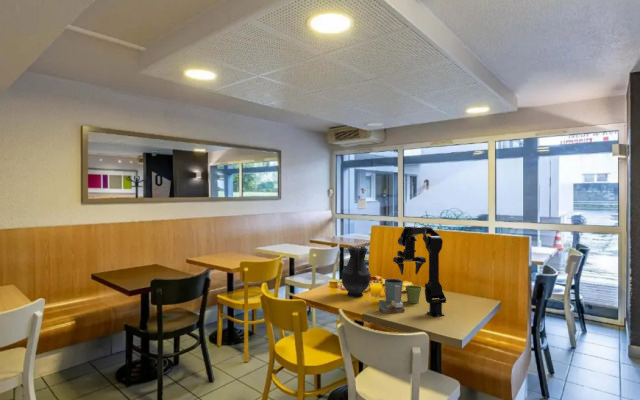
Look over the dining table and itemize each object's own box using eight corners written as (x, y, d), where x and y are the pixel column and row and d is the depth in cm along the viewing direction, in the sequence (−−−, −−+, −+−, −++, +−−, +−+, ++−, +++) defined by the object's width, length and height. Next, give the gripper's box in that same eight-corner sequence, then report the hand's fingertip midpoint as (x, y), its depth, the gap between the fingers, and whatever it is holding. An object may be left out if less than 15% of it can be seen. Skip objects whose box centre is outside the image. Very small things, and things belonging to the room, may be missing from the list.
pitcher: (369, 292, 228) (370, 244, 228) (370, 301, 207) (372, 248, 207) (341, 291, 230) (342, 243, 230) (340, 299, 209) (341, 247, 209)
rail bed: (400, 309, 194) (400, 297, 194) (404, 312, 189) (404, 300, 189) (379, 310, 191) (379, 298, 191) (383, 313, 186) (383, 301, 186)
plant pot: (402, 302, 207) (403, 287, 207) (407, 299, 215) (407, 284, 215) (419, 305, 202) (419, 289, 202) (423, 301, 211) (423, 286, 211)
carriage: (398, 304, 194) (399, 284, 194) (402, 307, 189) (403, 287, 189) (391, 304, 193) (392, 285, 193) (395, 307, 188) (396, 287, 188)
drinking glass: (404, 300, 211) (405, 280, 211) (398, 305, 202) (399, 283, 202) (387, 298, 216) (388, 277, 216) (381, 302, 207) (382, 280, 207)
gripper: (417, 246, 224) (416, 271, 224) (389, 246, 219) (388, 272, 219) (426, 248, 213) (426, 275, 213) (397, 248, 209) (397, 276, 209)
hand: (409, 274), depth 214 cm, fingers open, 9 cm apart
